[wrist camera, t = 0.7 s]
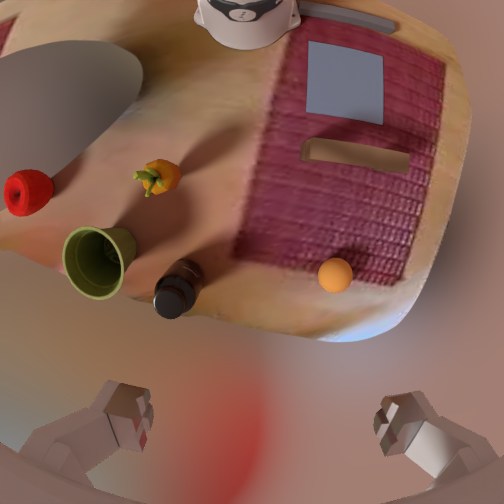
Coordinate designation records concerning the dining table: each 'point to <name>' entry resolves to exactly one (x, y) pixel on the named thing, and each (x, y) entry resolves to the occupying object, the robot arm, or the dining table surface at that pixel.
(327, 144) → the bridge
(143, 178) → the carrot
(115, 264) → the plant pot
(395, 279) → the dining table surface
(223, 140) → the dining table surface
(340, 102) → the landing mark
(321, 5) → the stopper wall
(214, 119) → the dining table surface
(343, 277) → the ball
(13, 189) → the apple
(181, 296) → the supplement bottle
